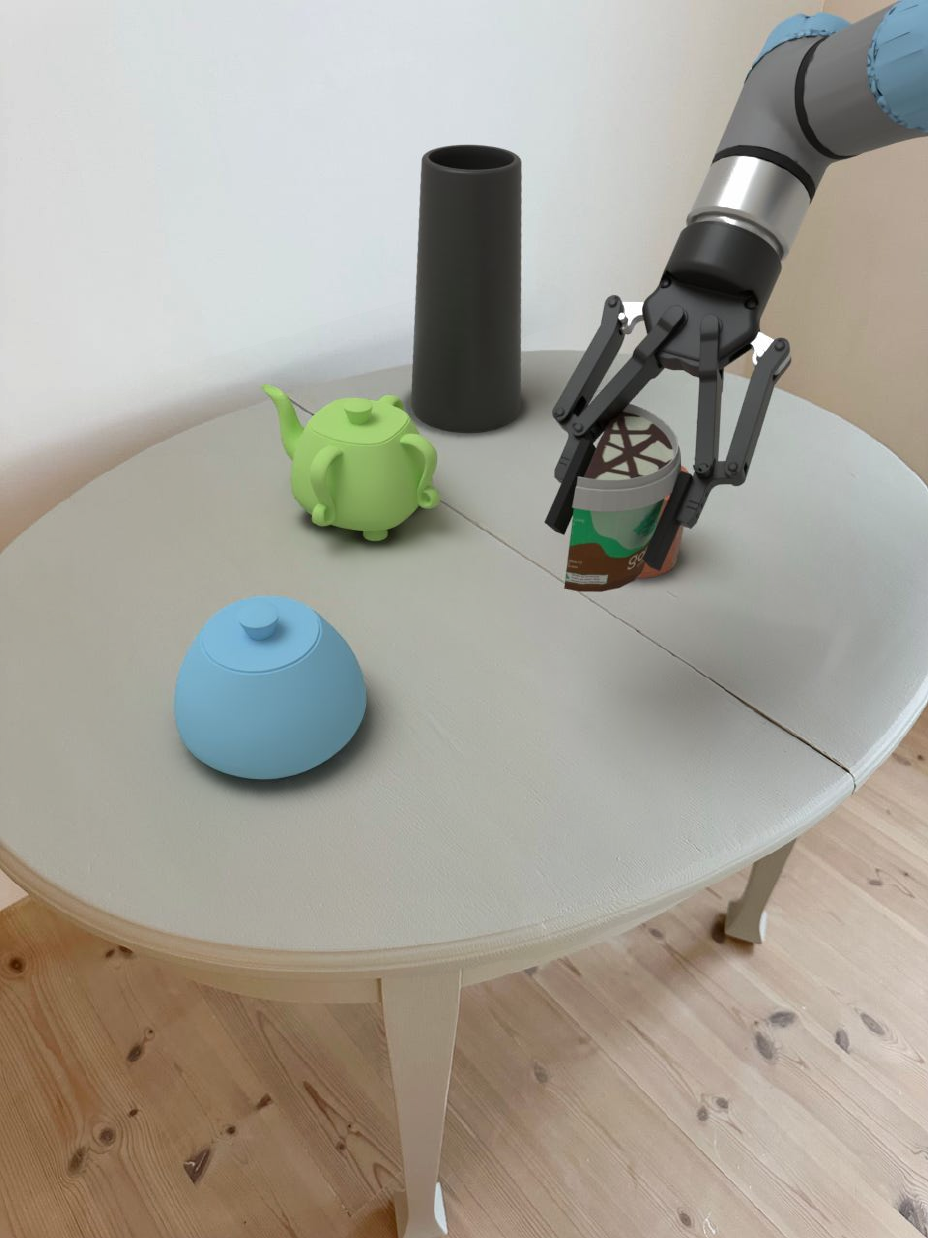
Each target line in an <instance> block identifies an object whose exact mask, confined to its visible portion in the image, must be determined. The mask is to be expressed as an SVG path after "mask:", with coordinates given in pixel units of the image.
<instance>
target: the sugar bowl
mask: <svg viewBox="0 0 928 1238" xmlns="http://www.w3.org/2000/svg"><path fill="white" fill-rule="evenodd" d="M366 708H367V687H366V683H365V677H364V674H363V671H362V669H361V666H360V664H359V661H358V659H357V656H356V654H355V653H354V651H353V649H352V648H351V646H350V645H349V644H348V642H347V640H346V639H345V638H344V637H343V636H342V634H341V633H340V632H339V631H338V630H337V629H336V628H335V627H334V626H333V624H331V623H330V622H328V620H326V619H325V617H323V616H322V615H321V614H320V613H318V612H317V611H316V610H315V609H313V608H312V607H310V606H308V605H307V604H306V603H303V602H301V601H299V600H296V599H293V598H290V597H287V596H286V597H285V596H279V595H257V596H250V597H245V598H243V599H239V600H237V601H234V602H232V603H230V604H228V605H226V606H223V607H222V608H221V609H219V610H218V611H216V612H215V613H214V614H213V615H212V616H211V617H209V619H208V620H207V621H206V622H205V624H204V625H203V626H202V627H201V629H200V630H199V632H198V633H197V635H196V637H195V638H194V639H193V641H192V643H191V645H190V646H189V648H188V650H187V651H186V653H185V655H184V658H183V659H182V662H181V665H180V667H179V670H178V674H177V677H176V682H175V686H174V694H173V715H174V721H175V726H176V730H177V733H178V735H179V738H180V739H181V741H182V743H183V745H184V746H185V747H186V748H187V749H188V751H190V753H191V754H192V755H193V756H194V757H195V758H197V759H198V760H199V761H200V762H201V763H203V764H205V765H207V766H209V767H210V768H212V769H214V770H217V771H219V772H222V773H224V774H227V775H231V776H233V777H239V778H245V779H251V780H276V779H282V778H287V777H291V776H292V777H293V776H296V775H299V774H302V773H305V772H307V771H309V770H312V769H313V768H315V767H318V766H319V765H321V764H323V763H324V762H326V761H328V760H330V759H331V758H332V757H333V756H334V755H336V754H337V753H338V752H340V751H341V750H342V749H343V748H344V747H345V746H346V745H347V744H348V743H349V742H350V740H351V739H352V738H353V737H354V736H355V734H356V733H357V730H358V729H359V727H360V725H361V723H362V721H363V718H364V717H365V716H364V715H365V712H366Z"/></svg>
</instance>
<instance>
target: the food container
mask: <svg viewBox="0 0 928 1238" xmlns="http://www.w3.org/2000/svg"><path fill="white" fill-rule="evenodd" d="M595 447H596V450H595V452H594V455H593V457H592V459H591V462H590V464H589V466H588V469H587V471H586V473H585V475H584V477H578V480H577V486H576V489H575V495H574V500H573V506H572V508H574V511H573V516H572V519H571V528H570V537H569V545H568V553H567V561H566V569H565V577H564V586H563V589H564V590H568V591H573V592H574V591H575V592H580V593H581V592H582V593H588V592H589V593H601V592H607V591H611V590H616V589H621V588H623V587H625V586H627V585H629V584H630V583H632V582H635V580H636V579H638V578H637V577H638V576H639V575H640V574H641V572H642V570H643V568H644V565H645V561H644V560H643V557H644V554H645V552H646V550H647V547H648V545H649V543H650V541H651V538H652V536H653V534H654V531H655V529H656V526H657V523H658V519H659V516H660V513H661V509H662V506H663V503H664V500H665V497H667V496H668V495H670V494H671V493H672V490H673V488H674V486H675V483H676V481H677V479H678V476H679V474H680V472H681V465H682V453H681V448H680V445H679V440H678V437H677V435H676V433H675V432H674V430H673V428H672V427H671V426H670V425H669V424H668V423H666V422H665V420H664V419H662V418H660V417H659V416H657V414H654V413H653V412H651V411H649V410H647V409H645V408H643V407H640V406H638V405H635V404H632V403H629V404H628V405H627V407H626V408H625V409H624V410H623V411H622V412H621V413H620V414H619V415H618V417H616V418H614V419H612V420H610V421H609V423H608V425H607V427H606V429H605V431H604V432H603V433H602V434H601V436H600V438H599V440H598V442H597V444H596V446H595Z"/></svg>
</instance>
